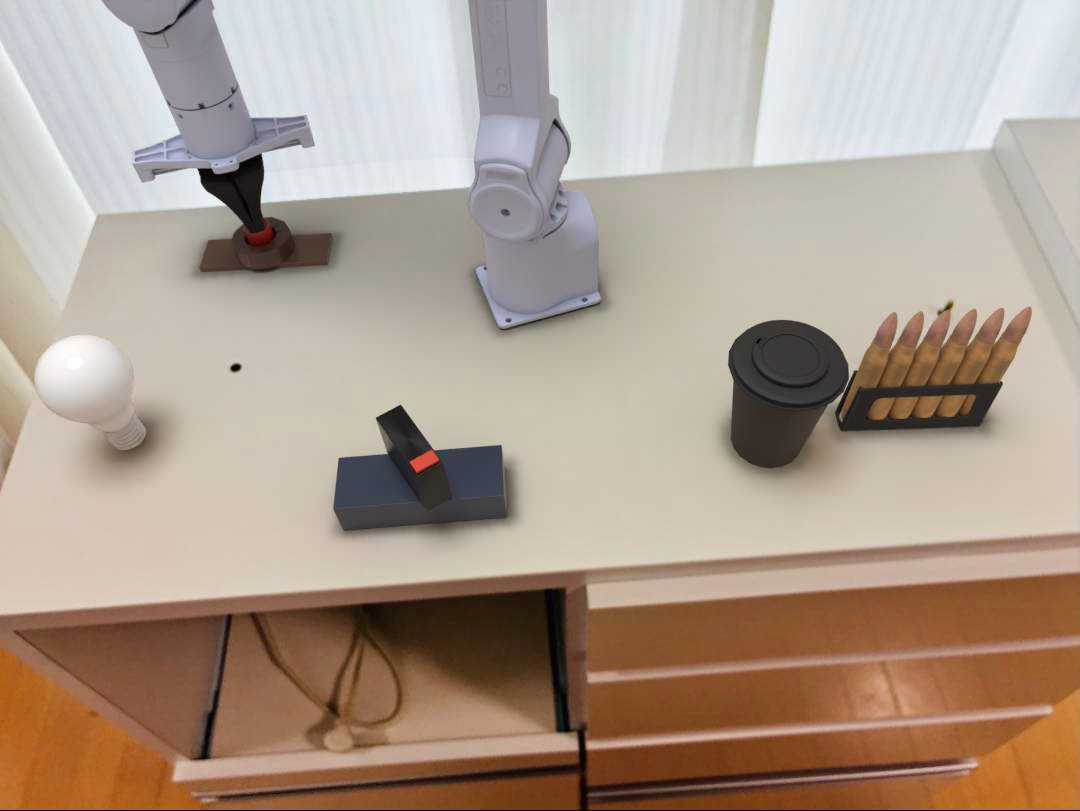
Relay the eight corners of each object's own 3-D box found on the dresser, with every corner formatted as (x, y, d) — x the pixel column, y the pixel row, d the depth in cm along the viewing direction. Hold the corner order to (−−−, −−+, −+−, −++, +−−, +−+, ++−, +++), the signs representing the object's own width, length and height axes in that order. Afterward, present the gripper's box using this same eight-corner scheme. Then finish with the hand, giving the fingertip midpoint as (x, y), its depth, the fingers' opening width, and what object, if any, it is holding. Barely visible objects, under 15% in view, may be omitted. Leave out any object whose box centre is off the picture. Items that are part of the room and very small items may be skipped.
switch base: (504, 467, 63) (501, 444, 60) (507, 517, 60) (504, 495, 58) (347, 479, 63) (338, 457, 60) (343, 530, 60) (332, 509, 58)
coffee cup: (707, 397, 66) (724, 310, 58) (810, 397, 66) (841, 309, 58) (717, 483, 61) (737, 400, 53) (829, 484, 61) (865, 400, 53)
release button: (276, 230, 78) (271, 215, 77) (272, 247, 77) (266, 232, 75) (251, 231, 78) (245, 217, 77) (246, 248, 77) (240, 234, 75)
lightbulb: (149, 480, 63) (80, 390, 55) (76, 468, 64) (-4, 378, 56) (186, 415, 67) (127, 322, 59) (117, 405, 68) (48, 311, 60)
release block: (333, 233, 80) (327, 213, 79) (326, 270, 77) (320, 251, 75) (211, 239, 81) (202, 220, 79) (199, 277, 77) (190, 258, 75)
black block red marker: (387, 454, 60) (374, 415, 57) (411, 441, 61) (400, 401, 57) (427, 512, 57) (416, 475, 53) (452, 498, 58) (442, 460, 54)
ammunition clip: (839, 431, 63) (884, 323, 54) (834, 412, 65) (876, 303, 55) (980, 426, 63) (1050, 316, 54) (972, 407, 64) (1039, 296, 55)
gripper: (105, 137, 62) (177, 271, 73) (298, 98, 64) (340, 234, 75) (108, 88, 66) (175, 222, 77) (288, 53, 68) (329, 188, 79)
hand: (256, 225), depth 76 cm, fingers closed, pressing on release button
